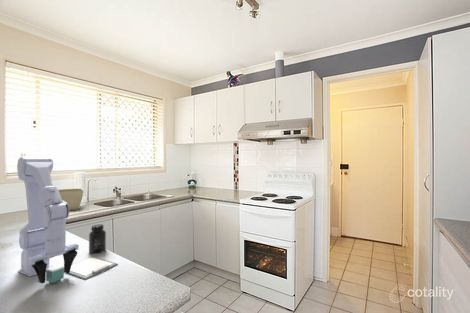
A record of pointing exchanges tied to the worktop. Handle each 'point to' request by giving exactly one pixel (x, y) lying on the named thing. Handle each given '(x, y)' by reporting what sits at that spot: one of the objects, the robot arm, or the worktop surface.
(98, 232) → the supplement bottle
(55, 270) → the teal-topped white block
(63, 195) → the flower pot
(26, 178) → the robot arm
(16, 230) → the worktop surface
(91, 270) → the clipboard
